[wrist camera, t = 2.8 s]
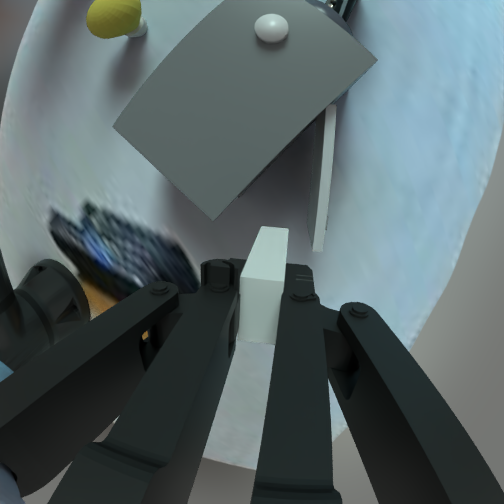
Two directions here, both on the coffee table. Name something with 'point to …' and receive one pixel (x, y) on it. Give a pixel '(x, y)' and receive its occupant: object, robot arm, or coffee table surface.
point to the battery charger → (342, 7)
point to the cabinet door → (321, 176)
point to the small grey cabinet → (241, 94)
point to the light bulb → (116, 18)
